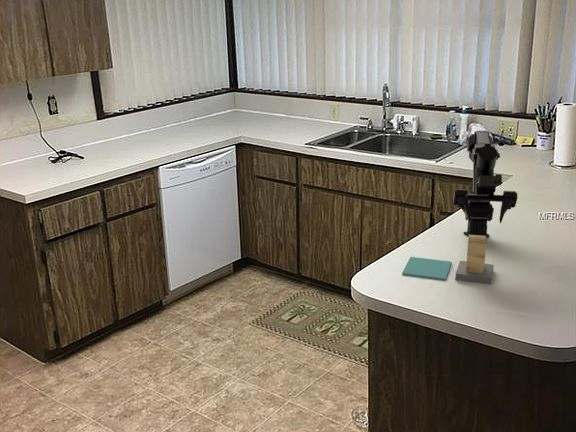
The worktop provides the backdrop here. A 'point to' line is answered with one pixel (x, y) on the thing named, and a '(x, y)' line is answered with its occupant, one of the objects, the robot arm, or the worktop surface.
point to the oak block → (476, 253)
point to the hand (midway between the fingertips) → (484, 221)
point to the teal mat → (427, 268)
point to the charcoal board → (474, 274)
